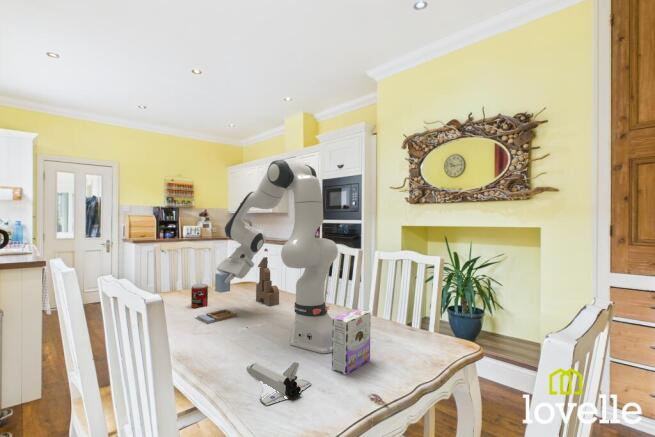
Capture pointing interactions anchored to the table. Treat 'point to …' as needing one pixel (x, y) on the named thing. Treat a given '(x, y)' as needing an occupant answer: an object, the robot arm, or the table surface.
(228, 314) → the tray
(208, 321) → the plate
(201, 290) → the canned food
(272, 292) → the wooden toy
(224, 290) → the block
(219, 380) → the table surface
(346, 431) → the table surface
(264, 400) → the space shuttle model
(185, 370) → the table surface
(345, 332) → the candy box
